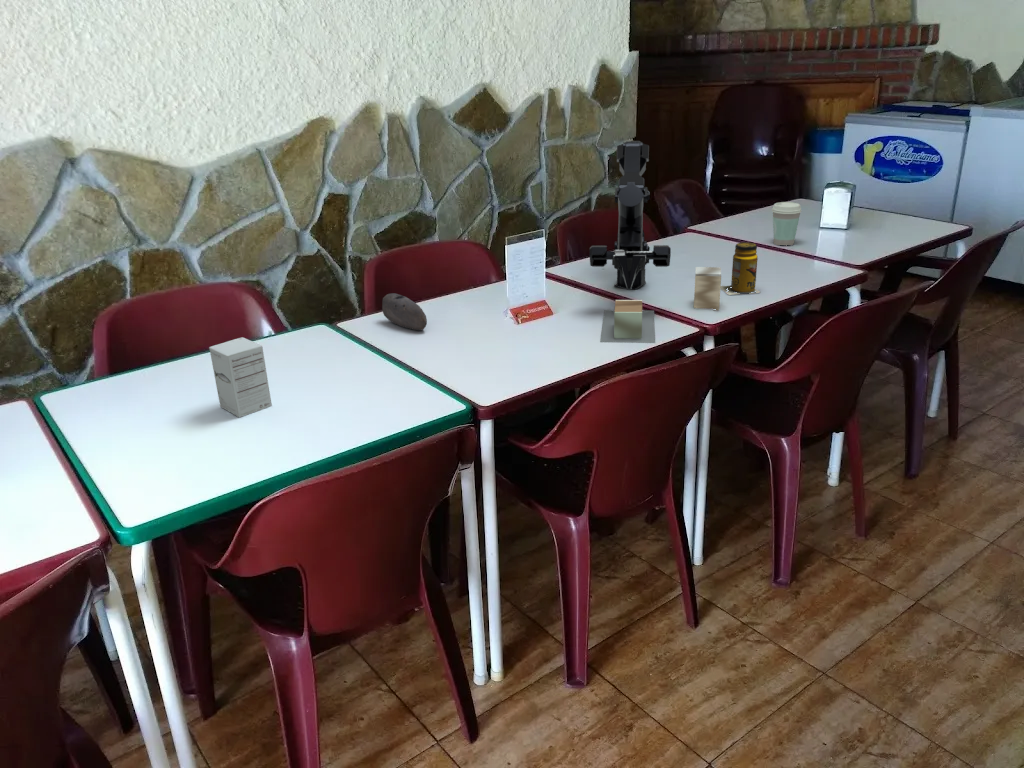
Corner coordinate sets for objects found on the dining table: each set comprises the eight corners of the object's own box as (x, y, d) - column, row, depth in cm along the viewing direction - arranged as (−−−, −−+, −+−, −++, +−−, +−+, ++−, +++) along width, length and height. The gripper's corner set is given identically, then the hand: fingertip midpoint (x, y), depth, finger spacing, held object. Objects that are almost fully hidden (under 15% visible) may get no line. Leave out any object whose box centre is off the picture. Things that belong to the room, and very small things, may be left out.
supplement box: (219, 407, 163) (207, 346, 158) (254, 395, 168) (243, 335, 163) (238, 418, 159) (226, 355, 154) (273, 406, 163) (263, 344, 158)
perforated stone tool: (435, 331, 199) (432, 303, 197) (416, 336, 196) (413, 308, 193) (399, 317, 210) (397, 289, 207) (381, 322, 207) (378, 294, 204)
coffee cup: (779, 239, 265) (783, 200, 261) (804, 243, 259) (807, 204, 255) (763, 244, 260) (766, 204, 256) (787, 248, 254) (791, 208, 250)
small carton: (615, 299, 195) (614, 312, 187) (642, 300, 194) (642, 312, 186) (615, 324, 197) (614, 338, 189) (641, 325, 196) (641, 338, 188)
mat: (604, 311, 207) (604, 310, 207) (653, 312, 205) (654, 310, 205) (600, 343, 187) (600, 342, 187) (655, 344, 186) (655, 342, 185)
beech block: (693, 309, 206) (695, 273, 203) (694, 302, 212) (695, 266, 208) (719, 310, 205) (721, 274, 201) (718, 302, 210) (720, 267, 207)
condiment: (760, 293, 216) (764, 246, 211) (728, 295, 215) (731, 249, 211) (749, 285, 223) (753, 239, 218) (718, 287, 222) (721, 242, 217)
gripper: (668, 246, 209) (668, 303, 204) (592, 246, 212) (590, 303, 206) (670, 222, 199) (670, 282, 193) (590, 223, 201) (588, 282, 196)
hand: (629, 288), depth 197 cm, fingers closed
